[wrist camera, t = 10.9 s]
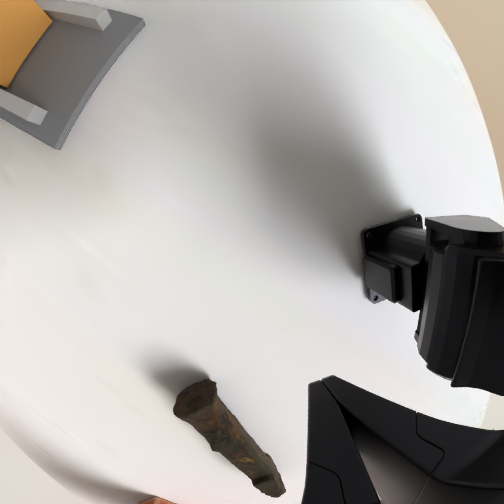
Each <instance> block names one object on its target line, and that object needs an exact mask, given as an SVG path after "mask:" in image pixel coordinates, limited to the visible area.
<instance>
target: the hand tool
mask: <svg viewBox="0 0 504 504" xmlns="http://www.w3.org/2000/svg"><path fill="white" fill-rule="evenodd" d="M173 412H174V415H175V416H177V417H178V418H180V419H181V420H183V421H186V422H188V423H189V424H191V425H192V426H193V427H194V428H195V429H196V430H197V431H198V432H199V433H200V434H201V435H202V436H204V437H205V439H206V440H207V441H208V443H209V444H210V446H211V449H212V451H216V452H220V453H221V454H222V455H223V456H224V457H226V458H227V459H228V460H229V461H230V462H231V463H232V464H233V465H235V466H236V467H237V468H238V469H239V470H241V471H242V472H243V473H245V474H246V475H247V476H248V477H249V478H250V479H251V480H252V483H253V486H254V487H256V488H257V489H259V490H260V491H261V492H262V493H265V495H268V496H271V497H280V496H281V495H282V494H284V493H285V492H286V489H285V487H284V484H283V481H282V479H281V475H280V473H279V472H278V471H277V468H276V465H275V464H274V462H273V460H272V458H271V457H270V456H269V455H268V454H265V453H264V452H263V451H262V450H261V448H260V447H259V446H258V445H257V444H256V442H255V441H254V439H253V438H252V437H250V436H249V435H248V433H247V432H246V431H245V430H244V428H243V426H242V425H241V424H240V422H239V421H238V420H237V418H236V417H235V416H234V415H233V414H232V413H231V412H230V411H229V410H228V409H227V407H226V406H225V405H224V404H223V402H222V401H221V400H220V398H219V397H218V395H217V388H216V382H214V381H211V380H209V379H208V380H205V381H203V382H200V383H196V384H193V385H191V386H189V387H187V388H186V389H184V390H183V391H182V392H181V393H180V394H179V395H178V396H177V399H176V403H175V405H174V408H173Z"/></svg>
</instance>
